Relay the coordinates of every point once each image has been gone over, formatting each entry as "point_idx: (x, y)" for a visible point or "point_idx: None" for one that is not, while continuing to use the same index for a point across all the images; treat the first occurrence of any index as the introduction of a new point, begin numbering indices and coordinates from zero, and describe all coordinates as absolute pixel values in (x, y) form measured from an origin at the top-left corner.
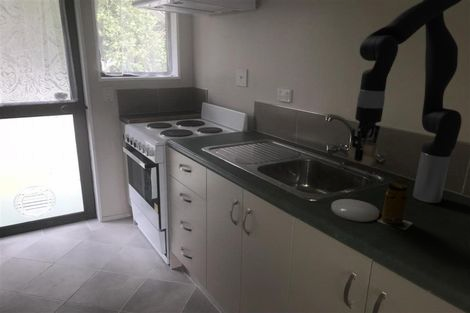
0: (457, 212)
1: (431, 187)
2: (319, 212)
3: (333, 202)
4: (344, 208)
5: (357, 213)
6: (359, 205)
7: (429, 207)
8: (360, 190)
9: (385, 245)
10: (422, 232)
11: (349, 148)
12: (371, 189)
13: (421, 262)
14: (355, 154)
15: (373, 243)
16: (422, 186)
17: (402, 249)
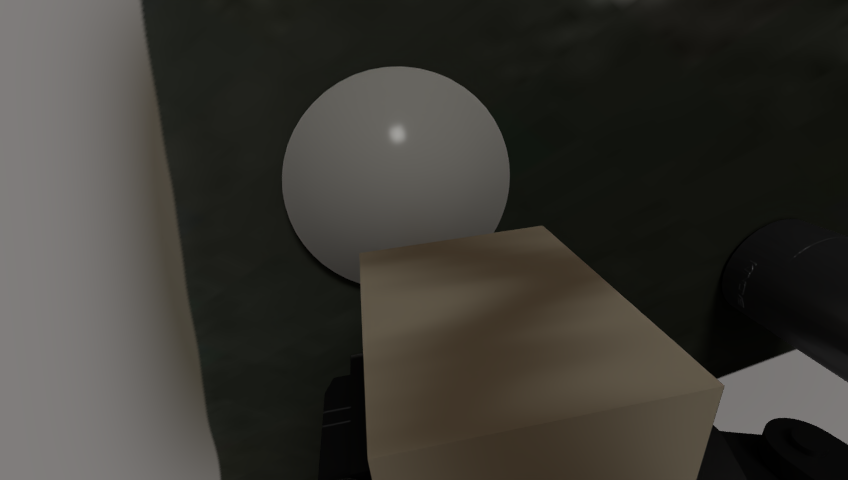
0: None
1: (783, 331)
2: (219, 89)
3: (361, 77)
4: (348, 164)
5: (355, 232)
6: (447, 183)
7: (677, 313)
8: (685, 29)
9: (252, 396)
10: None
11: (363, 350)
12: (739, 60)
13: (266, 476)
14: (324, 427)
15: (224, 375)
16: (785, 298)
17: (282, 427)
